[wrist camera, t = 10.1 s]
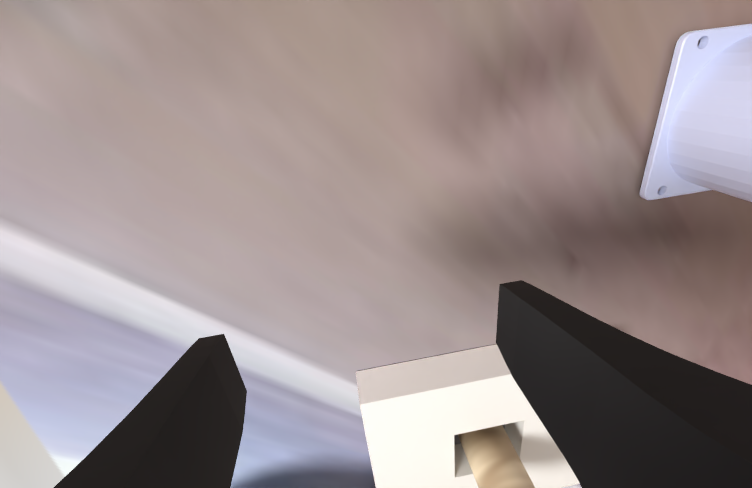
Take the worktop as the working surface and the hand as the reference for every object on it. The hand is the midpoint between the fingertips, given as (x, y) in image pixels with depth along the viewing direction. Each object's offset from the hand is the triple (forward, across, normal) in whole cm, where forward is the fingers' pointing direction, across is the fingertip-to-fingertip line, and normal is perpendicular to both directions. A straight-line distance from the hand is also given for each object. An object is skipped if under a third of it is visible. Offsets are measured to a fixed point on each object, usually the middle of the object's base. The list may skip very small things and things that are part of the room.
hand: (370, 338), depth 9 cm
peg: (+9, -7, +18) cm, 21 cm away
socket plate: (+9, -7, +18) cm, 21 cm away
